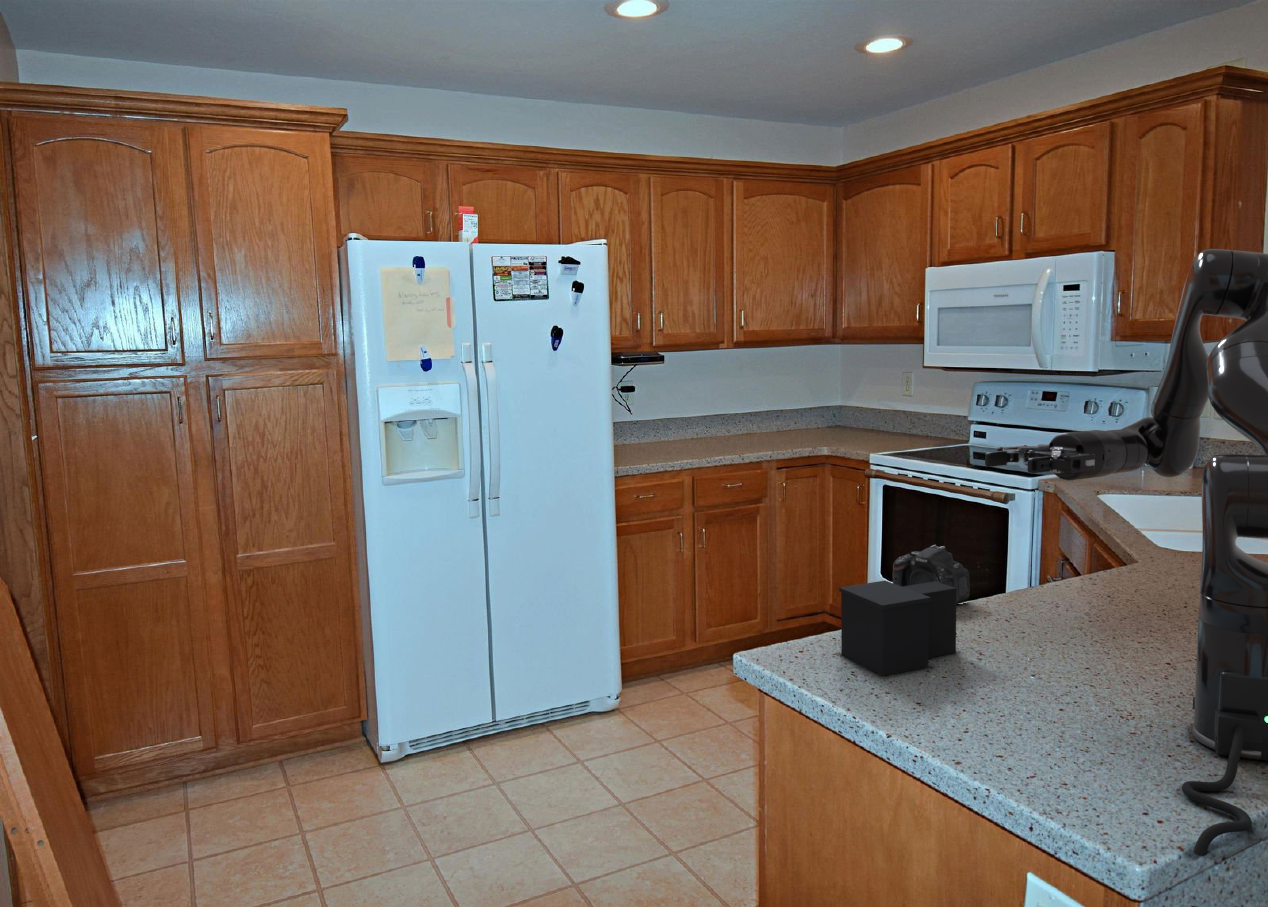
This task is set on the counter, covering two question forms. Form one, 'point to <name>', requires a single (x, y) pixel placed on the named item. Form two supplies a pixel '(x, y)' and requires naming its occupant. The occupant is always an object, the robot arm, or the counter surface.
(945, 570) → the camera
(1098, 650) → the counter surface
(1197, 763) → the counter surface
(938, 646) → the upright black block
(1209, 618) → the robot arm
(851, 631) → the black lidded box
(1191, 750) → the counter surface
